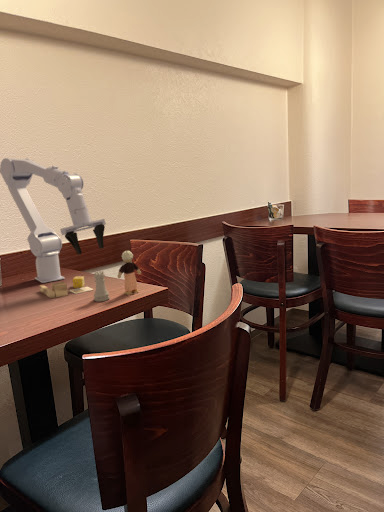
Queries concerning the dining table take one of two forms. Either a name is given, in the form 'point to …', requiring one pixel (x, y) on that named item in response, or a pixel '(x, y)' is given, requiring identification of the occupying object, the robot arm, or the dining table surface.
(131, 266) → the grandmother figurine
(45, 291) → the backstop
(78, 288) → the card
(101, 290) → the rook chess piece
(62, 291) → the maple cube
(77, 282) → the alphabet block
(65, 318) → the dining table surface
